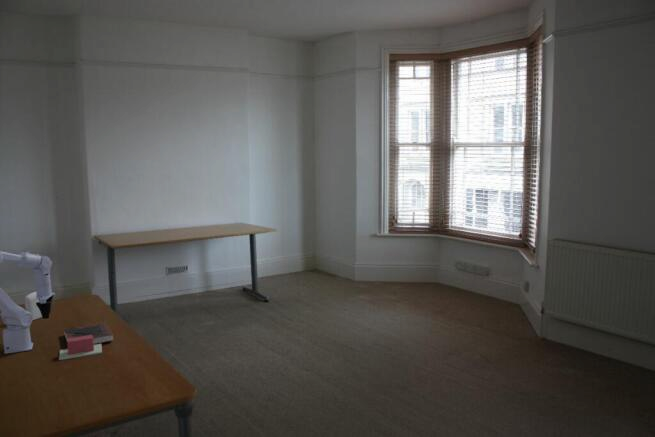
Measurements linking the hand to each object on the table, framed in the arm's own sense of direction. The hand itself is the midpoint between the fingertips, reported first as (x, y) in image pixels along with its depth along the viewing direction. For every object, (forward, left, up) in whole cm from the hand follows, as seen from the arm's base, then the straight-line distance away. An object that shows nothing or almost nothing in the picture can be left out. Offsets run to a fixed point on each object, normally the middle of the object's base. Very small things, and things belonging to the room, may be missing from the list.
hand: (46, 315), depth 238 cm
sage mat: (+13, -25, -9) cm, 30 cm away
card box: (+13, -25, -9) cm, 30 cm away
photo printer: (-6, +34, -10) cm, 36 cm away
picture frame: (+15, -10, -9) cm, 20 cm away
